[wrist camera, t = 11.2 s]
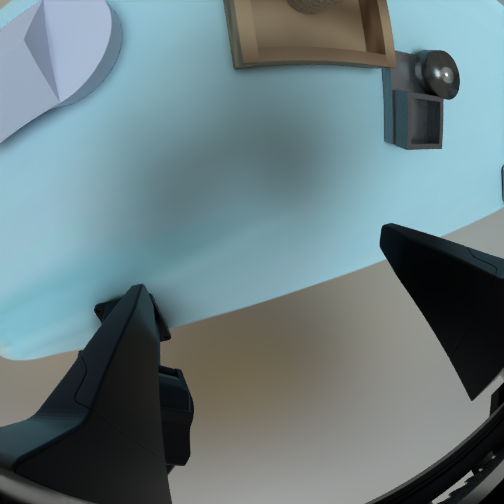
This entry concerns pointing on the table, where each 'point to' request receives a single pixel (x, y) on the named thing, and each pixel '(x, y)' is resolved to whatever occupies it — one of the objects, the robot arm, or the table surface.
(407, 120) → the plate
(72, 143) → the table surface
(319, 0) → the pin
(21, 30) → the wedge on round base
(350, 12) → the tray
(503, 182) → the hard drive box
